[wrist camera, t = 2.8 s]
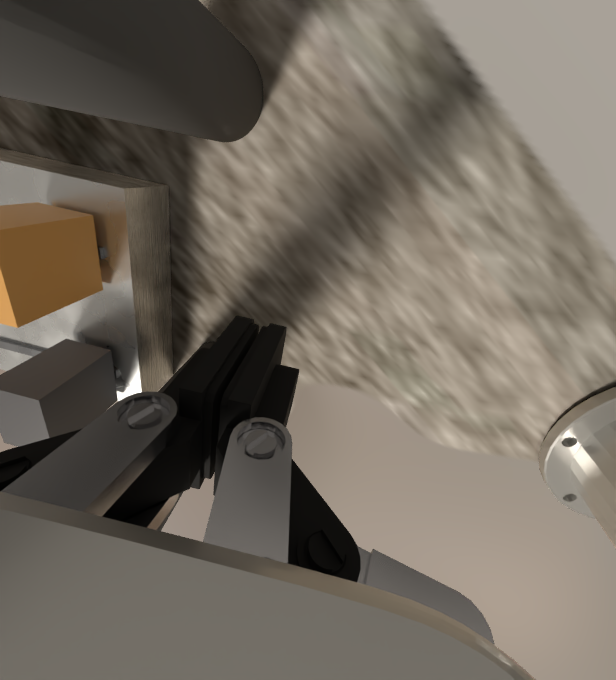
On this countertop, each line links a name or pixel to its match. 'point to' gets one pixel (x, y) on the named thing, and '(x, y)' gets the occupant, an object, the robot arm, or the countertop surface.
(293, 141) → the countertop surface
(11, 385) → the grey small block
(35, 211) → the tab orange
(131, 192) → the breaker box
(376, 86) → the countertop surface
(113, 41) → the post
